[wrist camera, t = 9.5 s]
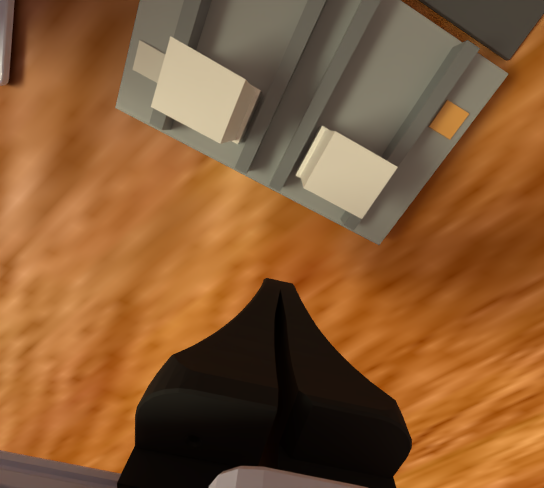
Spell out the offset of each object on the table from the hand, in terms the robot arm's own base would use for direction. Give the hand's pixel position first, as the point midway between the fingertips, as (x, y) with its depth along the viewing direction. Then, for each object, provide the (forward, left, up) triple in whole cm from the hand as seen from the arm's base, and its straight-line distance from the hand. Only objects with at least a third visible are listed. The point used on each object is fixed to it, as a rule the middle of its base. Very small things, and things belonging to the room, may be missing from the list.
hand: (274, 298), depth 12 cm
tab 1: (-6, +6, -4) cm, 9 cm away
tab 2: (0, +6, -4) cm, 7 cm away
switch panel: (-3, +8, -5) cm, 10 cm away
